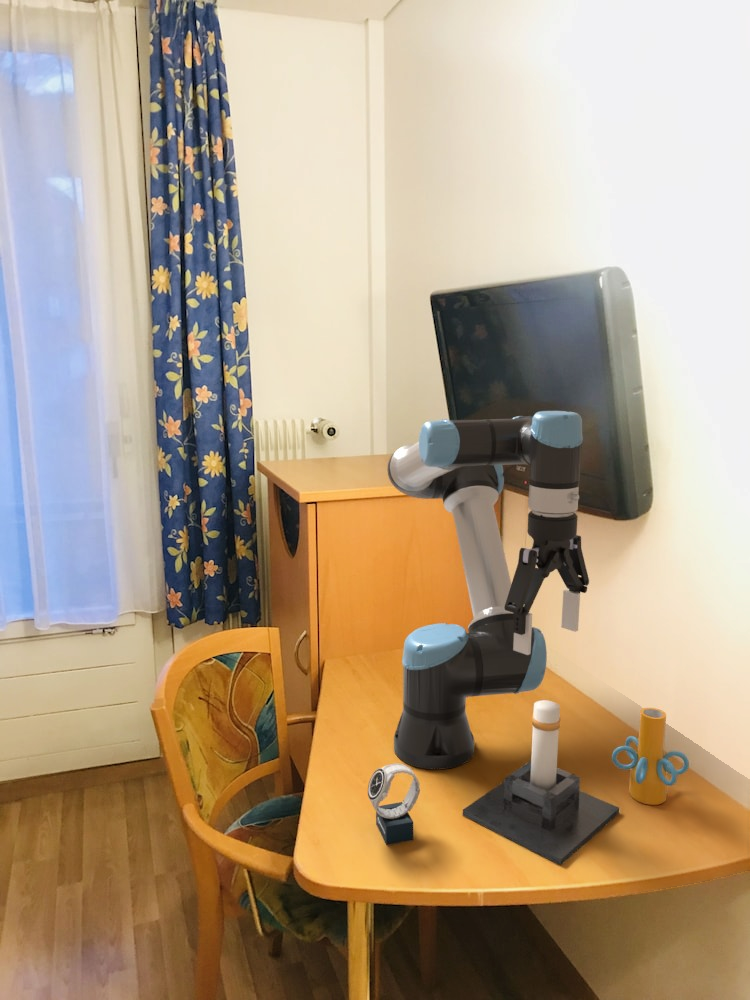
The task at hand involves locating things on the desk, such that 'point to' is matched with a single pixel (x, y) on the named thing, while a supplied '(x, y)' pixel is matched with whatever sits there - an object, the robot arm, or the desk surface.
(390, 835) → the watch
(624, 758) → the desk surface
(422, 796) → the desk surface
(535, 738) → the tube
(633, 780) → the yellow ring vase
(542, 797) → the collar stand
